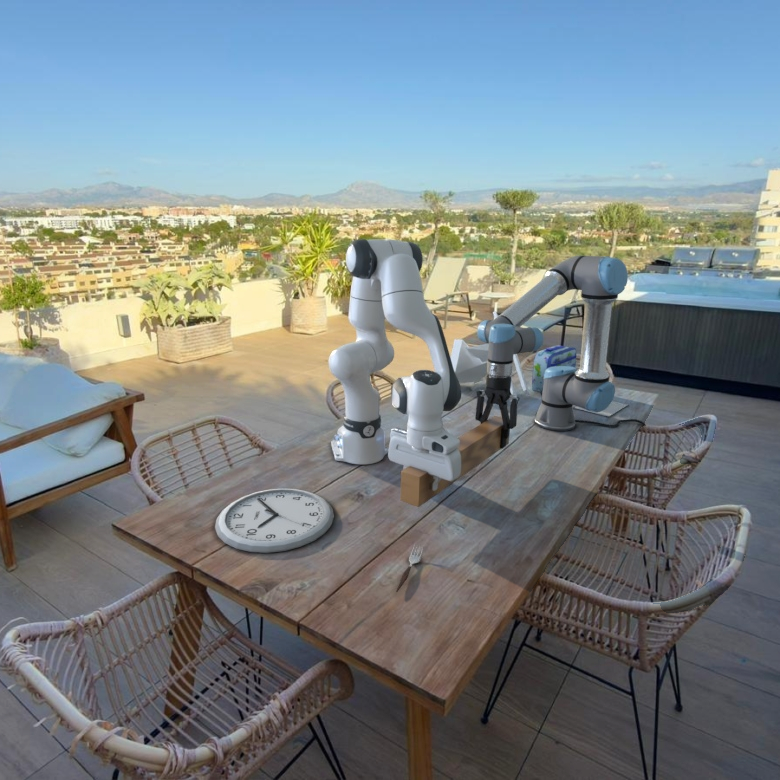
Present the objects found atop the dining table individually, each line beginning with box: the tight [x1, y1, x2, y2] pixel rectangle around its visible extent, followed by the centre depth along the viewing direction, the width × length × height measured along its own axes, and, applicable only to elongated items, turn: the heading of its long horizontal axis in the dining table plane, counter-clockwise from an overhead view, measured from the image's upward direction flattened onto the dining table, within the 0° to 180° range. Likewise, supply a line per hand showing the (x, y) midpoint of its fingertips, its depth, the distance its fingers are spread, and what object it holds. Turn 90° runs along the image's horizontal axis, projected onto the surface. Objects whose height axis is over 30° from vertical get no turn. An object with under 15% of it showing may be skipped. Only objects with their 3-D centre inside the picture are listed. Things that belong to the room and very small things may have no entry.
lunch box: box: [531, 345, 577, 394], centre depth 245 cm, size 26×11×21 cm, turn 134°
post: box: [400, 415, 510, 508], centre depth 150 cm, size 52×6×8 cm, turn 143°
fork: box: [395, 543, 425, 593], centre depth 115 cm, size 3×16×2 cm, turn 160°
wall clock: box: [214, 488, 335, 554], centre depth 135 cm, size 30×2×30 cm
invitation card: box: [573, 400, 629, 418], centre depth 226 cm, size 21×1×15 cm
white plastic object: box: [450, 310, 531, 397], centre depth 245 cm, size 37×45×31 cm
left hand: (422, 485), depth 135 cm, fingers closed on post, 5 cm apart
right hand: (493, 444), depth 167 cm, fingers closed on post, 6 cm apart
